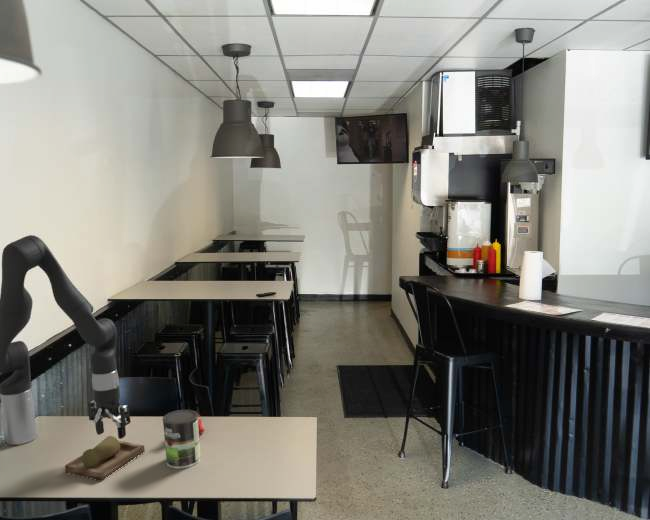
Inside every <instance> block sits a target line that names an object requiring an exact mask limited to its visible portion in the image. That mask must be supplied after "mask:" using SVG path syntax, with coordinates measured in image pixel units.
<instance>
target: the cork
mask: <svg viewBox="0 0 650 520" xmlns="http://www.w3.org/2000/svg"><path fill="white" fill-rule="evenodd" d="M119 441H120V440H118V438H116V437H115V436H112V435H108V436H107V437H105V438H104V439H103V440H101V441H100V442H99V443H98V444H97V445H95V446H93V448H89V449H86V450H85V451H83V453H82V455H81V456H82V462H83V464H84V465H85V466H86V467H94V466H96V465H97V464H98V463H99V461H102V460H104V459H106V458H109V457H111V456H114V455H116V454H118V453H119V451H120V444H119Z"/></svg>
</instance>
